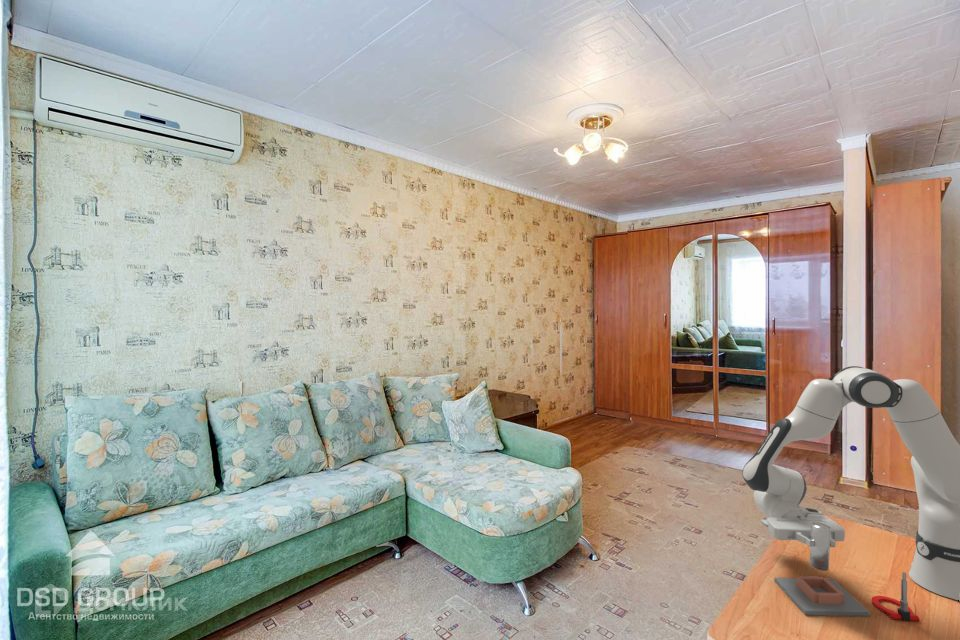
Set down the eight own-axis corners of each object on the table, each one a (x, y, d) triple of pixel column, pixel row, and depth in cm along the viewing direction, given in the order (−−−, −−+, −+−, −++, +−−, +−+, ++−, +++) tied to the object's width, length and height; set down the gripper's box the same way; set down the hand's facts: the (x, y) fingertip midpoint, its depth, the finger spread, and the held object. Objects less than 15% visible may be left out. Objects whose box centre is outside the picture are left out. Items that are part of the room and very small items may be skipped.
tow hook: (864, 598, 128) (888, 620, 119) (864, 554, 128) (889, 573, 119) (896, 600, 127) (923, 623, 118) (897, 556, 127) (924, 575, 118)
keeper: (832, 582, 135) (832, 570, 134) (869, 616, 121) (870, 603, 120) (774, 581, 136) (774, 569, 135) (805, 614, 122) (805, 601, 122)
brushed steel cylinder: (821, 561, 130) (823, 522, 129) (832, 571, 125) (834, 530, 125) (806, 561, 130) (807, 521, 129) (816, 570, 126) (818, 530, 125)
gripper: (758, 509, 141) (785, 533, 127) (825, 510, 139) (859, 534, 125) (757, 528, 141) (784, 554, 127) (824, 529, 140) (858, 555, 126)
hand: (822, 544), depth 126 cm, fingers closed on brushed steel cylinder, 4 cm apart
